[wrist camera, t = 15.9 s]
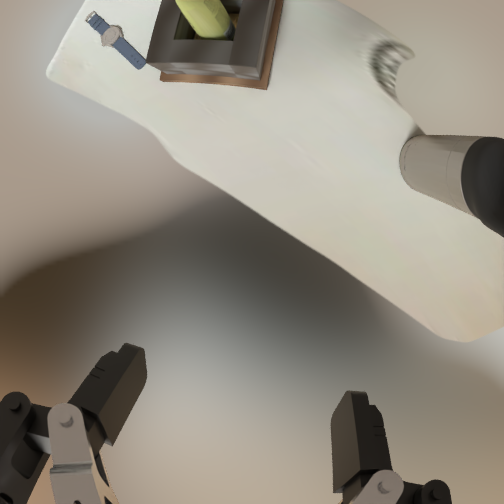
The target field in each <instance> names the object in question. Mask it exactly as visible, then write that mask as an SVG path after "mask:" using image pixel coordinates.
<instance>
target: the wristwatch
mask: <svg viewBox="0 0 504 504" xmlns="http://www.w3.org/2000/svg"><path fill="white" fill-rule="evenodd" d="M93 13H95V12H94V11H93V12H92V13H90V14H89V15H88V16H87V18H86V20H85V21H86V22H87V20H88V18H89V17H90V16H91V15H92V14H93ZM90 18H91V17H90ZM87 23H89V24H90V26H91V27H93V29H94V30H96V31H98V32H99V33H100V34H101V41H102V46H105V45H106V46H109V47H113V48H115V49H116V50H118V51H119V52H120V53H121V54H122V55H123V56H124V57H125V58H126V59H127V60H128V61H129V62H130V63H131V64H132V65H133V66H134V67H135V68H137V69H141V68H142V67H143V66H144V65H145V64H146V60H145V59H144V58H143V57H142V56H141V55H140V54H139V53H138V52H137V51H136V50H135V49H134V48H133V47H132V46H131V45H130V44H129V43H128V42H126V41H125V40H124V39H123V35H122V31H121V29H120V28H119V27H117V26H109V25H108V24H107V23H106V22H105V21H104V20H103V19H101V17H100V16H98V15H97V14H96V13H95V15H94V16H93V17H92V18H91V19H90V20H89V21H88V22H87ZM120 36H121V37H120Z"/></svg>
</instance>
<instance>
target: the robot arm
mask: <svg viewBox="0 0 504 504" xmlns="http://www.w3.org/2000/svg"><path fill="white" fill-rule="evenodd" d="M400 170H401V174H402V176H403V178H404V180H405V182H406V183H407V184H408V185H409V186H410V187H411V188H412V189H414V190H416V191H418V192H420V193H423V194H425V195H427V196H430V197H432V198H434V199H437V200H439V201H441V202H444V203H446V204H448V205H450V206H452V207H455V208H457V209H459V210H461V211H463V212H465V213H468V214H470V215H472V216H474V217H476V218H478V219H480V220H481V222H482V223H483V224H484V225H485V226H487V227H488V228H490V229H491V230H493V231H495V232H496V233H498V234H499V235H501V236H502V237H504V139H502V138H497V137H482V136H455V135H420V136H415V137H413V138H411V139H410V140H408V141H407V143H406V144H405V145H404V147H403V149H402V151H401V154H400ZM146 379H147V369H146V359H145V351H144V349H143V348H141V347H138V346H135V345H131V344H129V343H125V344H124V345H123V346H122V348H121V349H120V350H119V351H118V353H116V352H113V351H111V352H109V353H107V354H106V355H104V356H102V357H101V358H100V360H99V361H98V362H97V364H96V365H95V368H93V369H92V370H91V372H90V374H89V375H88V376H87V377H86V379H85V380H84V381H83V383H82V384H81V385H80V387H79V388H78V390H77V391H76V392H75V394H74V395H73V396H72V398H71V399H70V400H69V402H68V403H62V404H58V405H56V406H54V407H53V408H51V407H45V406H41V405H36V404H33V403H31V402H30V400H29V399H28V397H27V396H26V395H25V394H23V393H21V392H11V393H9V394H7V395H6V396H5V397H4V398H3V399H2V401H1V402H0V504H27V501H28V499H29V497H30V495H31V493H32V491H33V488H34V486H35V484H36V482H37V480H38V478H39V476H40V474H41V472H42V470H43V468H44V466H45V464H46V462H47V460H48V458H49V456H50V454H52V460H53V468H51V469H50V480H51V485H52V489H53V494H54V498H55V502H56V504H119V502H118V500H117V498H116V496H115V494H114V492H113V489H112V487H111V484H110V481H109V478H108V474H107V471H106V468H105V465H104V461H103V458H102V454H101V451H100V449H101V447H102V445H103V444H104V443H106V444H108V445H111V446H113V444H114V443H115V441H116V439H117V437H118V435H119V433H120V431H121V429H122V427H123V425H124V423H125V421H126V420H127V418H128V416H129V414H130V412H131V410H132V408H133V406H134V404H135V402H136V401H137V399H138V397H139V395H140V393H141V392H142V390H143V388H144V386H145V383H146ZM385 435H386V433H385V429H384V423H383V418H382V415H381V413H380V412H379V410H378V409H377V407H376V406H375V405H369V401H368V396H367V393H366V392H359V391H346V392H345V394H344V396H343V398H342V399H341V401H340V403H339V404H338V406H337V408H336V409H335V411H334V413H333V415H332V419H331V440H332V460H333V462H332V463H333V493H343V499H342V500H341V501H340V502H339V503H338V504H452V501H451V495H450V490H449V487H448V486H447V484H446V483H444V482H443V481H441V480H431V481H429V482H428V483H426V484H425V485H420V484H414V483H408V482H405V481H403V480H402V478H401V477H400V476H399V475H398V474H397V473H396V472H394V471H393V469H392V466H391V461H390V454H389V448H388V443H387V438H386V437H385Z"/></svg>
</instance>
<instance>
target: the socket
mask: <svg viewBox="0 0 504 504" xmlns="http://www.w3.org/2000/svg"><path fill="white" fill-rule="evenodd" d="M220 1H221V3H222V5H223V6H224V8H225V10H226V11H227V13H230V14H239V18H238V22H237V26H236V31H235V36H234V40H233V41H223V40H194V36H195V32H196V31H195V30H194V29H193V27H192V26H191V25H190V23H189V22H188V21H187V19H186V18H185V16H184V15H183V13H182V12H181V10H180V8H179V6H178V5H177V3H176V1H175V0H162V2H161V5H160V8H159V12H158V15H157V19H156V22H155V26H154V30H153V33H152V37H151V41H150V45H149V50H148V54H147V58H146V63H147V64H149V65H151V66H153V67H155V68H157V69H159V70H160V71H161V76H160V80H161V81H163V82H190V83H208V84H220V85H231V86H240V87H248V88H256V89H263V90H267V86H268V81H269V75H270V70H271V64H272V59H273V53H274V48H275V43H276V37H277V32H278V27H279V21H280V16H281V11H282V6H283V0H220Z"/></svg>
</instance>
